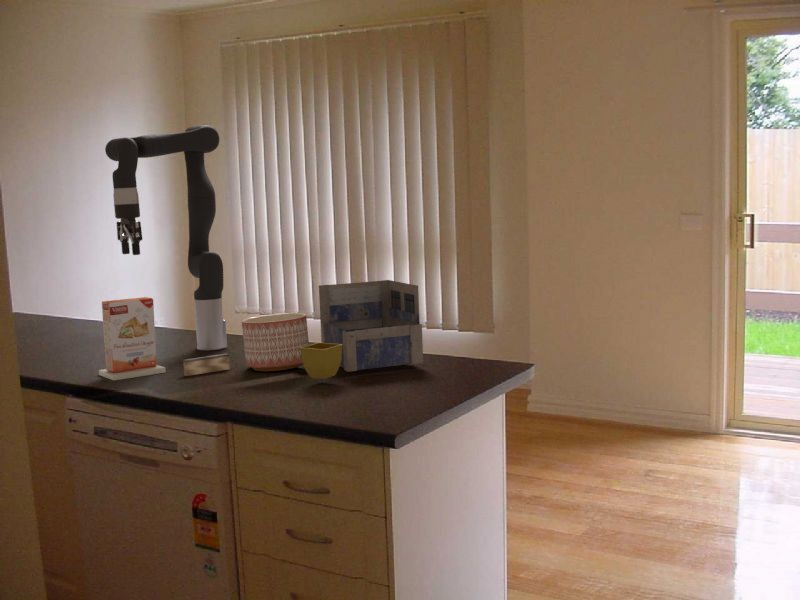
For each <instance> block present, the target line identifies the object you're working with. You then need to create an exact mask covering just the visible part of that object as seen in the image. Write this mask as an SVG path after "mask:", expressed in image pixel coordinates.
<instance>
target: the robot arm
mask: <svg viewBox="0 0 800 600" xmlns="http://www.w3.org/2000/svg"><path fill="white" fill-rule="evenodd" d="M219 144H220V135H219V133H218V131H217V130H216V128H214V126H211V125H208V124H207V125H206V124H205V125H204V124H201V125H195V126H194V125H193V126H189V127H187V128H186V129H185V130H184V131H183V132H182V131H181V132H169V133H154V134H146V135H145V134H144V135H140V136H135V137H120V138H119V137H117V138H112V139H111V140H109V141H108V142H107V143H106V145H105V148H104V150H105V152H104V153H105V154H106V156H107V157H108V158H109V159H110V160H111V161H113V162H118V164H117V168H116V169H115V170H113V172H112V184H113V207H114V217H115V219H117V220H119V219H120V221H116V235H117V236H116V237H117V241H119V242H120V244H121V254H122V255H129V254H130V251H131V250H132V251H131V252H132V255H133V256H139V255H141V249H140V247H141V246H140V243H141V241H143V232H142V225H141V221H140V220H138V221H137V220H136V219H137V218H140V217H141V211H140V210H141V209H140V200H139V199H140V197H139V191H138V187H137V186H138V185H137V176H136V175H137V174H136V173H137V169H138V163H139V159H143V158H144V159H145V158H146V159H148V158H155V157H160V156H167V155H172V154H177V153H183V155H184V161H185V169H186V183H187V184H186V185H187V188H186V189H187V210H188V251H187V252H188V255H187V267H188V271H189V273H190V274H191V276H193V277H194V278H197V279H198V281H199V282H198V283H199V285H198V287H197V288H196V290H194V292H193V302H194V314H195V315H194V317H195V330H196V331H195V333H196V345H197V350H199V351H216V350H217V351H218V350H222V349H226V348H228V339H227V325H226V324H227V323H226V322H227V321H226V320H225V319H224V315H223V298H222V297H223V290H224V263H223V260H222V258H221V256H220V255H219V254H218V253H216V252H215V251H214V252H213V251H210V243H209V238H210V232H211V230H212V226H213V223H214V220H215V217H216V211H217V210H216V209H217V206H216V205H217V204H216V192H215V189H214V186H213V184H212V182H211V180H210V177H209V176H208V174H207V171H206V166H205V154H209V153H211V152H213V151H215V150H216V149H217V148H218V147H219ZM130 241H131V250H130V243H129V242H130Z"/></svg>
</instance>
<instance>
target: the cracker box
mask: <svg viewBox="0 0 800 600" xmlns="http://www.w3.org/2000/svg"><path fill="white" fill-rule="evenodd" d="M154 306H155V305H154V298H152V297H148V296H147V297H146V296H144V297H134V298H122V299H113V300H104V301H101V309H102V311H101V312H102V329H103V342H104V343H103V344H104V355H105V356H104V358H105V369H106V370H107V371H111V372H114V373H115V372H121V371H127V370H134V369H140V368H147V367H153V366H157V365H158V363H157V346H156V331H155V330H156V329H155V328H156V327H155V309H154Z"/></svg>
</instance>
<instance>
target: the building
mask: <svg viewBox="0 0 800 600" xmlns="http://www.w3.org/2000/svg"><path fill="white" fill-rule="evenodd" d="M419 295H420V294H419V286H418V285H416V284H411V283H405V282H401V281H395V280H391V279H385V280H384V279H383V280H375V281H374V280H373V281H362V282H361V281H360V282H349V283H346V282H345V283H336V284H335V283H334V284H322V285H321V284H320V285H318V297H319V300H318V301H319V317H320V334H321V335H320V337H321V342H320V343H333V344H342V356H341V363H340V366H339V368H340V367H341V368H343V370H344V371H346V372H350V373H351V372H357V371H361V370H367V369H368V370H369V369H377V368H385V367H395V366H402V365H403V366H405V365H416V364H424V349H423V347H424V345H423V341H424V340H423V324H422V323H420V304H419V302H420V299H419Z"/></svg>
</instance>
